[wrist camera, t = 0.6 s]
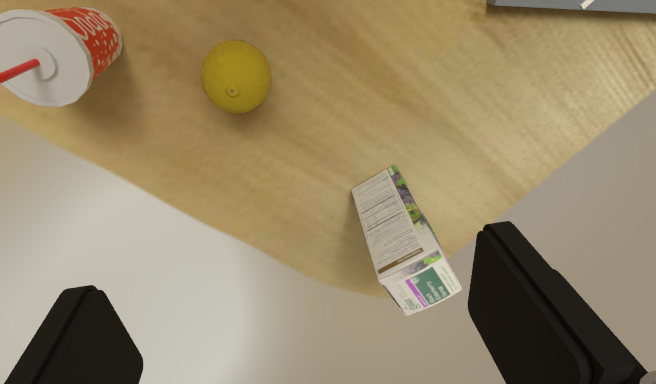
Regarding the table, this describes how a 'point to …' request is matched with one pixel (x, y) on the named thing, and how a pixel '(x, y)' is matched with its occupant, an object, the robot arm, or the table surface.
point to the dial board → (584, 4)
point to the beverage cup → (55, 52)
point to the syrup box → (403, 244)
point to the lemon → (236, 76)
